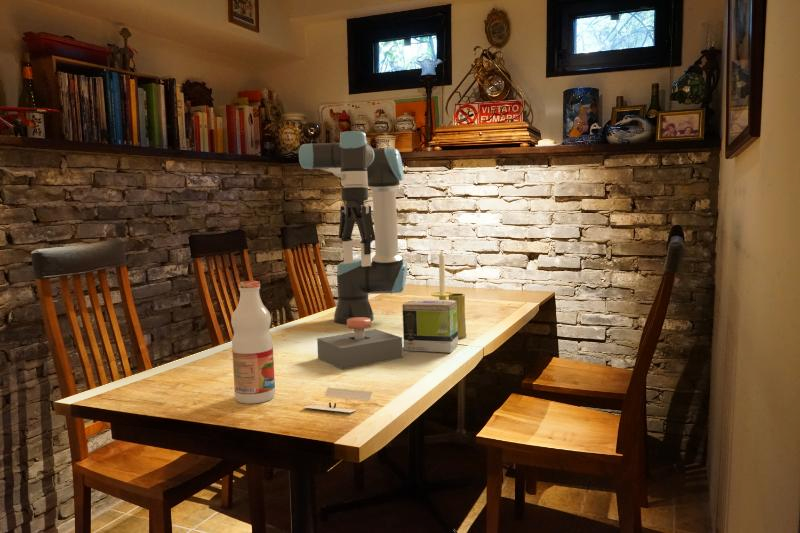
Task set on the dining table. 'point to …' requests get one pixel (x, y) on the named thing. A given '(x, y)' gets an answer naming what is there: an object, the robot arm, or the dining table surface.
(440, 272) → the candle
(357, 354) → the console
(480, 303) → the dining table surface
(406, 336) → the tea box
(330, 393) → the beige flat rectangular pieces
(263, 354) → the fruit juice
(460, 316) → the vase
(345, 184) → the robot arm
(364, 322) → the button
